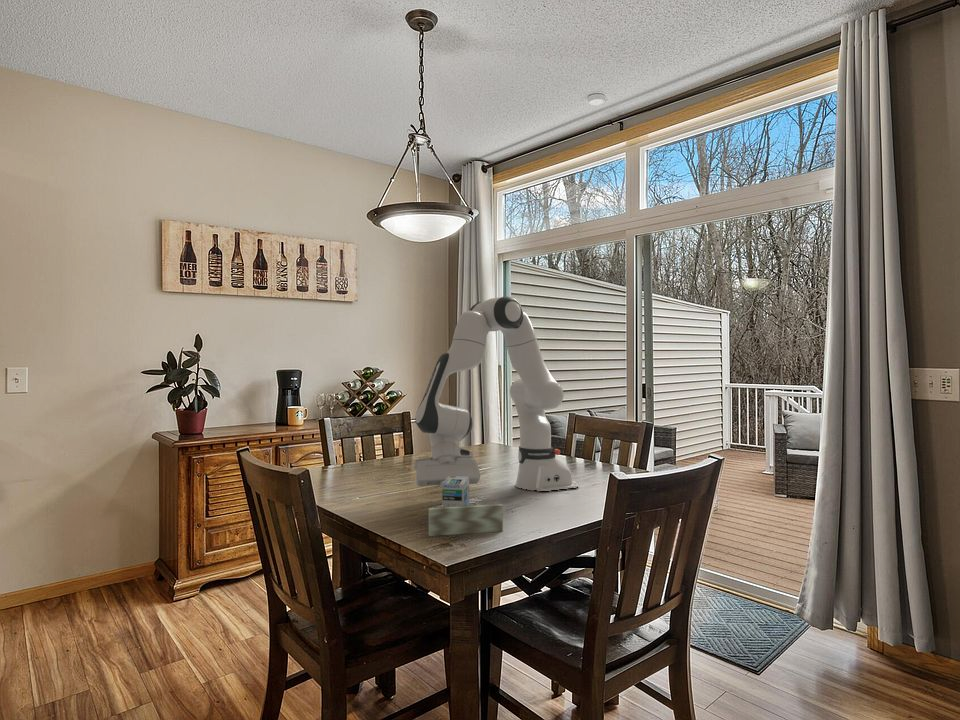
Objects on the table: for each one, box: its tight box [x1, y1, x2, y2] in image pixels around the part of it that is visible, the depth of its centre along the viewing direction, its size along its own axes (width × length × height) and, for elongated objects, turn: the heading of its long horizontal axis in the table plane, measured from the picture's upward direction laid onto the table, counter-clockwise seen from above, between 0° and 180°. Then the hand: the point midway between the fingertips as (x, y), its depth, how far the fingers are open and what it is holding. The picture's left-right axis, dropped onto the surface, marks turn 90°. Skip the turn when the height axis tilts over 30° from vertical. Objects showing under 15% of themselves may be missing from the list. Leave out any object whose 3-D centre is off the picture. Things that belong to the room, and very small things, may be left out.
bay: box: [428, 502, 504, 537], centre depth 162 cm, size 20×14×7 cm
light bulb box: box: [441, 476, 470, 507], centre depth 171 cm, size 11×7×11 cm, turn 173°
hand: (450, 495), depth 177 cm, fingers closed
